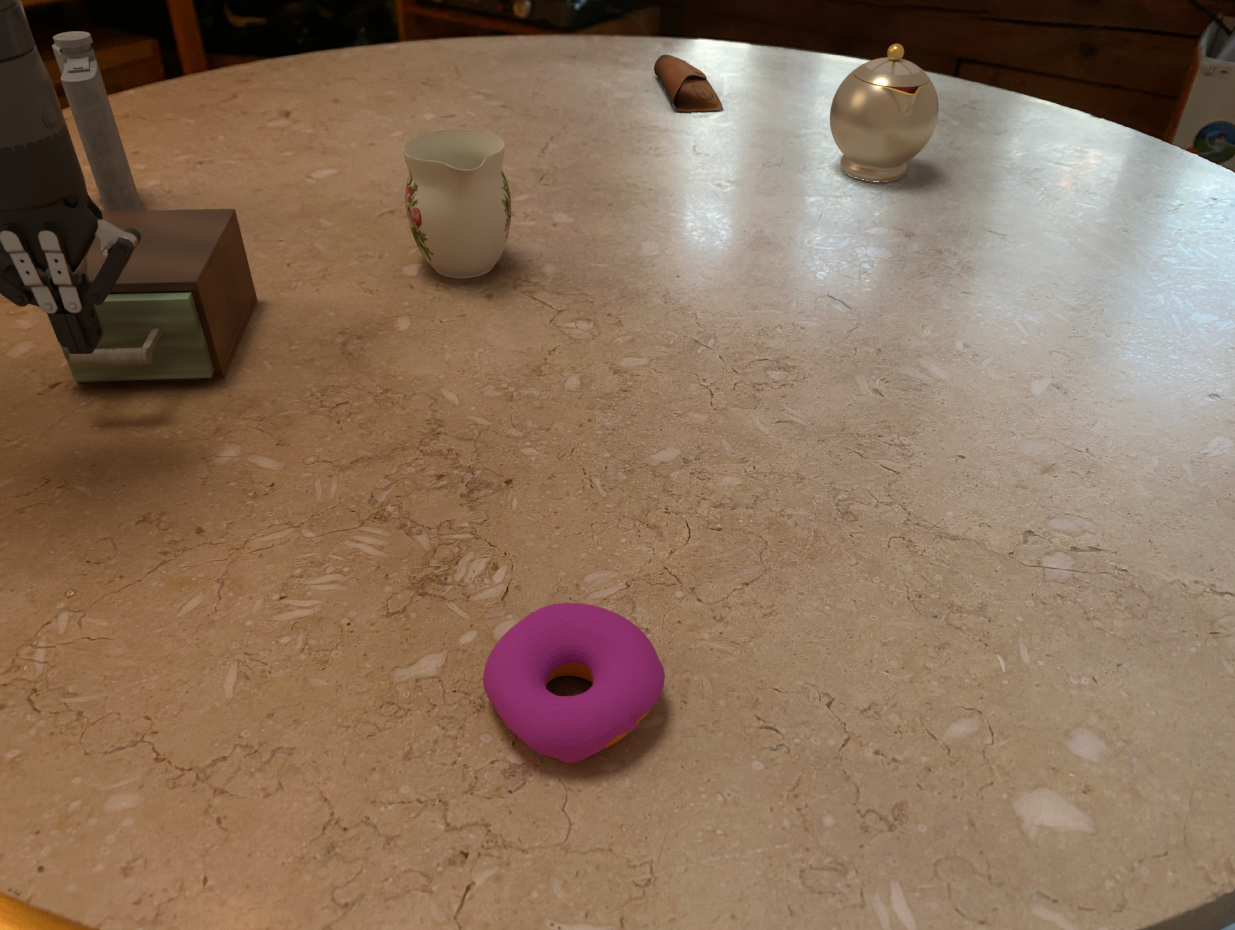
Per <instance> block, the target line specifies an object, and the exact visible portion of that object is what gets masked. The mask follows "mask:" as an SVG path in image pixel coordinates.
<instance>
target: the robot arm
mask: <svg viewBox="0 0 1235 930" xmlns="http://www.w3.org/2000/svg"><path fill="white" fill-rule="evenodd" d="M101 211H102V210H101V208H100V207H99V206H98V204H97V203H96V202H95V201H94V200H93V199H92V197H91V196H90V195H89V192H88V189H87V183H86V179H85V175H84V173H83V169H82V167H81V163H80V161H79V158H78V154H77V151H76V149H75V146H74V143H73V140H72V137H71V134H70V130H69V127H68V124H67V121H66V118H65V116H64V112H63V109H62V107H61V104H60V101H59V98H58V94H57V92H56V88H55V86H54V83H53V80H52V77H51V75H50V74H49V71H48V69H47V67H46V65H45V63H44V61H43V59H42V57H41V55H40V52H39V50H38V47H37V45H36V42H35V39H34V36H33V32H32V29H31V26H30V24H29V20H28V17H27V14H26V11H25V9H24V5H23V3H22V0H0V295H1V296H3V297H4V298H6V299H7V301H10V302H11V303H13V304H14V305H16V306H17V307H21V308H22V307H27V306H28V305H31V306H34V307H38V308H40V310H41V311H42V312H44V313H46V315H47V317H48V320H49V322H50V325H51V327H52V330H53V333H54V334H55V337H56V340H57V342H58V343H59V345H60V344H61V345H62V347H67V348H68V351H69V353H70V354H92V353H93V351H94V350H95V348H96V347H97V345H98V344H99V342H100V340H101V339H102V337H103V329H102V327H101V324H100V321H99V318H98V315H97V313H96V310H95V307H94V305H101V304H102V303H103V302H104V301H105V299H106V298H107V296H108V295H109V293H110V292H111V290H112V289H113V287H114V285H115V284H116V282H117V280H118V278H119V277H120V275H121V273H122V271H123V270H124V268H125V266H126V264H127V263H128V261H129V259H130V257H131V256H132V254H133V252H134V250H135V249H136V247H137V245H138V243H139V242H140V240H141V235H140V233H139V232H138V231H137V230H136V229H134V228H126V229H125V230H124V231H123V230H121V229H119V228H117V227H116V226H114V225H112V224H110V223H109V222H107V221H105V220H103V215H102V212H101ZM96 236H97V237H98V239H99V241H100V245H99V250H100V252H101V254H102V256H103V257H107V258H106V260H105V262H104V264H103V265H102V267H101V269H100V271H99V273H98V274H97V276H96V278H95V280H93V281H89V277H88V274H87V267H88V262H87V258H86V255H87V253H88V251H89V249H90V247H91V245H92V243H93V241H94V239H95V237H96ZM61 345H60V346H61Z"/></svg>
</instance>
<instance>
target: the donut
mask: <svg viewBox="0 0 1235 930" xmlns="http://www.w3.org/2000/svg"><path fill="white" fill-rule="evenodd" d="M482 675H483V676H482V681H483V688H484V690H485V694H486V695H487V698H488V699H489V701H490V704H491V705H492V706H493V708H494V709H495V711H496V713H497V714H498V716H499V717H500V719H501V720H502V721H503V722H504V724H505V725H506V727H507V728H508V730H509V731H512V732H513V733H514V734H515V735H516V736H517V737H518V738H519V740H521V741H522V742H523V743H525V744H526V746H528V747H529V748H530V749H532V750H533V751H535V752H537V753H538V754H540V755H544V756H547V757H550V758H555V759H557V760H559V761H561V762H564V763H566V764H573V763H577V762H580V761H583V760H585V759H586V758H588V757H590V756H593V755H595V754H598V753H599V752H601V751H603V750H605V749H607V748H609V747H610V746H613V745H614V744H616V743H617V742H619V741H620V740H622V739H623V738H624V737H626V736H627V735H629V733H630V732H633V731H634V730H636V729H638V728H637V726H638V725H639V724H640V722H641V721H643V719H644V718H646V716H647V715H648V714H649V712H650V711H651V709H652V708H653V707H654V705H655V704H656V703H657V701H659V699H660V698H661V695H662V692H663V690H664V687H665V679H666V674H665V669H664V666H663V664H662V662H661V660H660V658H659V655H658V653H657V651H656V649H655V647H654V645H653V642H651V640H650V639H649V638H648V636H647V635H646V634H645V632H643V631H642V630H641V629H640V628H639V627H638V626H637V625H636V624H635V623H634V622H632V621H631V620H629V619H627V618H626V617H624V616H623V615H621V614H619V613H617V612H614V611H612V610H609V609H607V608H604V607H601V606H597V605H594V604H593V605H592V604H588V603H580V602H560V603H552V604H549V605H545V606H543V607H539V608H538V609H536V610H534V611H532V612H530V613H529V614H528V615H526V616H525V617H523V618H522V619H520V620H519V621H518V622H516V624H514V625H512V627H510V628H509V629H508V630H507V631H506V632H505V633H504V634H503V635H502V636H501V637H500V639H499V640H498V641H497V642H496V644H495V645H494V647H493V648H492V650H491V651H490V653H489V655H488V657H487V659H486V662H485V664H484V669H483V674H482ZM565 676H566V677H575V678H580V679H583V680H585V681H588V682H590V683H592V685H591V687H589V689H587V690H586V691H584V692H582V693H580V694H576V695H573V696H572V695H571V696H568V695H567V696H566V695H564V696H563V695H556V694H554V693H553V692H551V691H549V690H548V689H547V685H548V684H549V683H550V681H552V680H554V679H556V678H559V677H565Z"/></svg>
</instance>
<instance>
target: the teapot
mask: <svg viewBox="0 0 1235 930" xmlns="http://www.w3.org/2000/svg"><path fill="white" fill-rule="evenodd" d="M886 55H887V56H886V57H885V56H884V57H879V58H875V59H871V60H869V61H866V62H864V63H862V64H860V65H859V66H857V67H856V68H854V69H853V70H851V72H850V73H849V74H848V75H847V76H846V77H845V78H844V79H843V80H842V81H841V83H840V84H839V86H838V88H837V89H836V90H835V93H834V96H833V98H832V102H831V105H830V111H829V127H830V132H831V136H832V138H833V141H834V143H835V145H836V147H837V148H838V150H839V151H840V152H841V154H842V156H841V157H840V160H839V166H840V169H841V170H842V172H843V173H844V174H846V173H847V174H846V175H847V176H848V177H850V178H853V179H855V180H858V181H861V182H867V183H874V184H875V183H876V184H877V183H878V184H884V183H891V182H895V181H898V180H901V178H903V177H904V176H905V175H906V173H907V171H908V163H907V162H909V161H910V160H912V159H913V158H914V157H916V156H917V155H918V154H920V152H921V151H922V150H924V148H925V147H926V145H927V144H928V143H929V141H930V139H931V138H932V137H933V135H934V132H935V129H936V128H937V127H936V126H937V123H938V118H939V111H940V110H939V109H940V107H939V106H940V105H939V98H938V97H939V96H938V94H937V90H936V87H935V85H934V83H933V81H932V80H931V77H929V75H928V74H927V73H926V72H925V70H923V69H922V68H921V67H919V66H918V65H917V64H915V63H914V62H912V61H910V60H907V59H904V58H903V57H904V55H905V49H904V46H903V45H902V44H900V43H894V44H891V45H890V46H889V47H888V48H887V52H886ZM848 174H849V175H851V176H849V175H848ZM852 176H853V177H852ZM854 177H857V178H859V179H857V178H854ZM861 179H864V180H861ZM865 180H868V181H865ZM873 181H879V182H873ZM884 181H885V182H884ZM886 181H888V182H886Z"/></svg>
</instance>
